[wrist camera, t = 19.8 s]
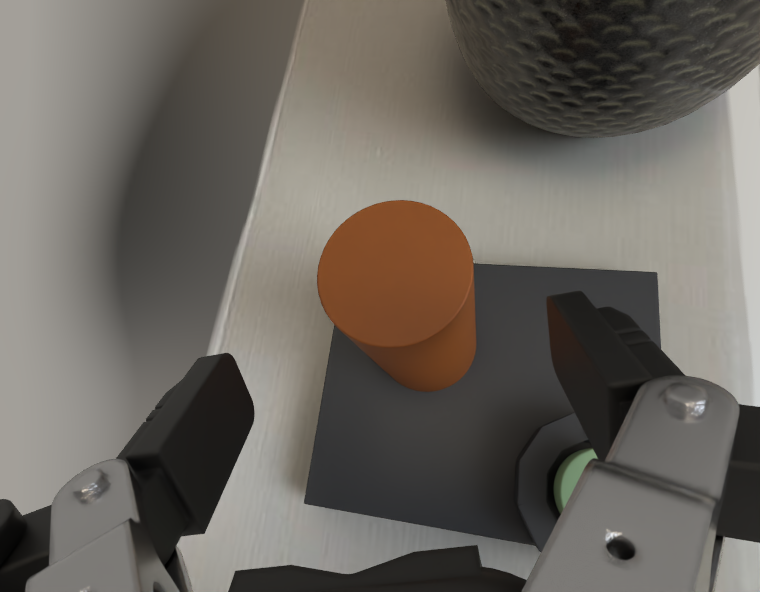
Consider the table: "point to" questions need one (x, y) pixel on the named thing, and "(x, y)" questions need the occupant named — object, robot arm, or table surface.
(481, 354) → the scale
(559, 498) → the button
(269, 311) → the table surface
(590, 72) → the planter
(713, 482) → the robot arm
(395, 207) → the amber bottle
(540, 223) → the table surface
